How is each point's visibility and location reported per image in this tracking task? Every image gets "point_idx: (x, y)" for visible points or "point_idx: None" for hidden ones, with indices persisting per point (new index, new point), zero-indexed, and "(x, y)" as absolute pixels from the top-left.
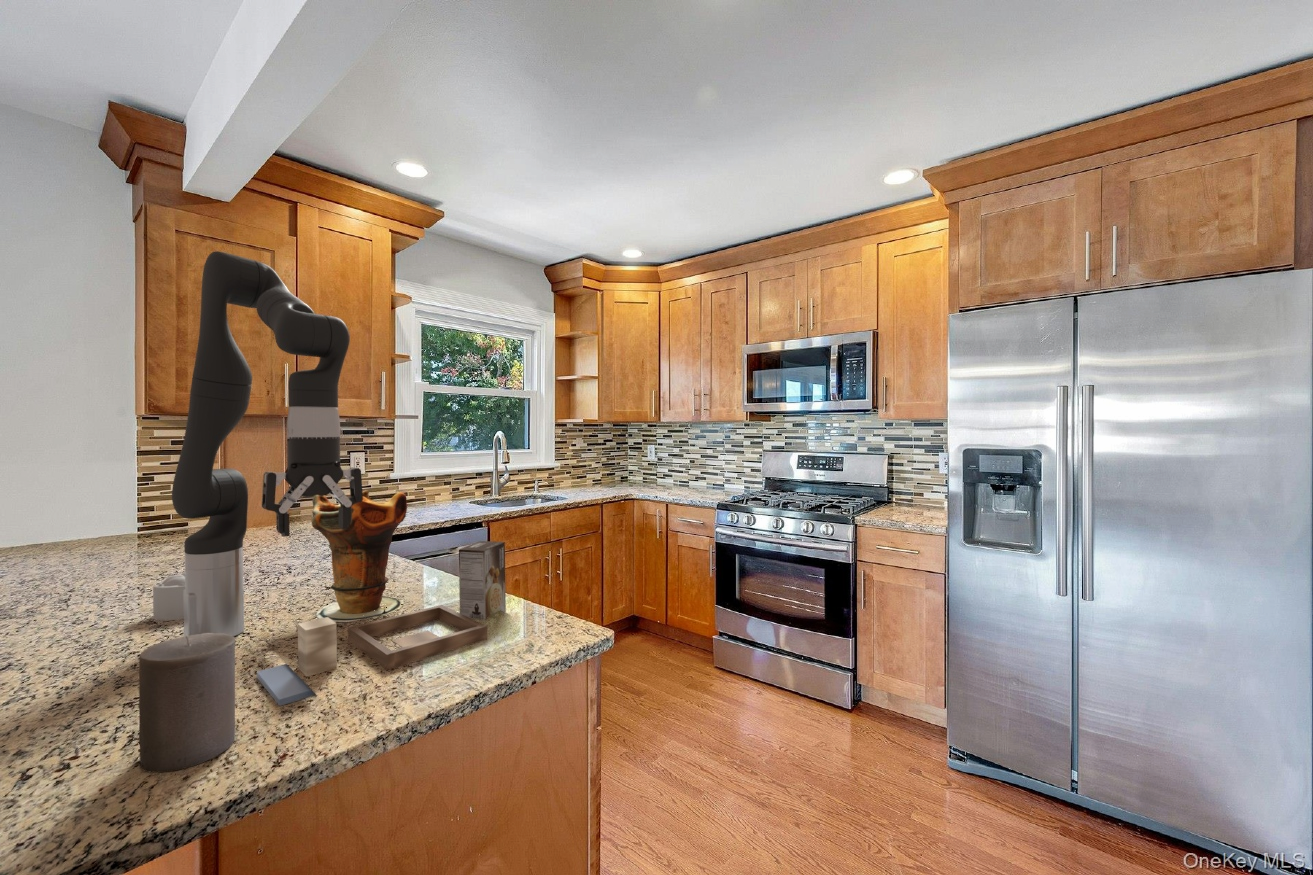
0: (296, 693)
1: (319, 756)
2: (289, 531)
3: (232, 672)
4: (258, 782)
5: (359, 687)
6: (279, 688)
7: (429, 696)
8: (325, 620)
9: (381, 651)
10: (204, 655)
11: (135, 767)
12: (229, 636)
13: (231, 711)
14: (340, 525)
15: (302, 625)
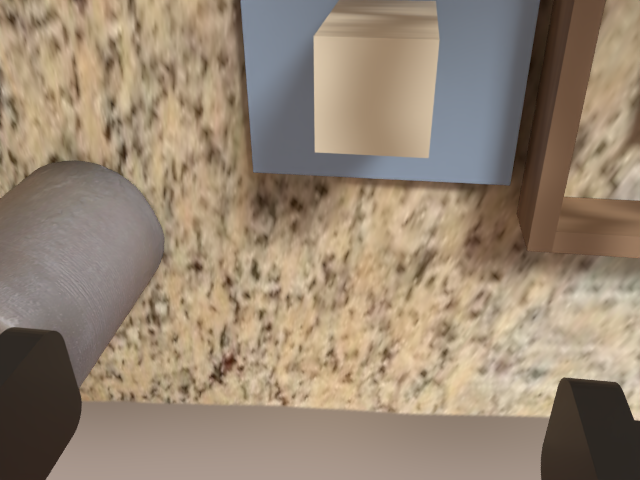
0: (293, 168)
1: (274, 400)
2: (62, 452)
3: (95, 361)
4: (189, 398)
5: (438, 209)
6: (266, 101)
7: (522, 366)
8: (412, 86)
9: (534, 209)
10: None
11: None
12: None
13: (131, 308)
14: (558, 440)
15: (321, 81)
